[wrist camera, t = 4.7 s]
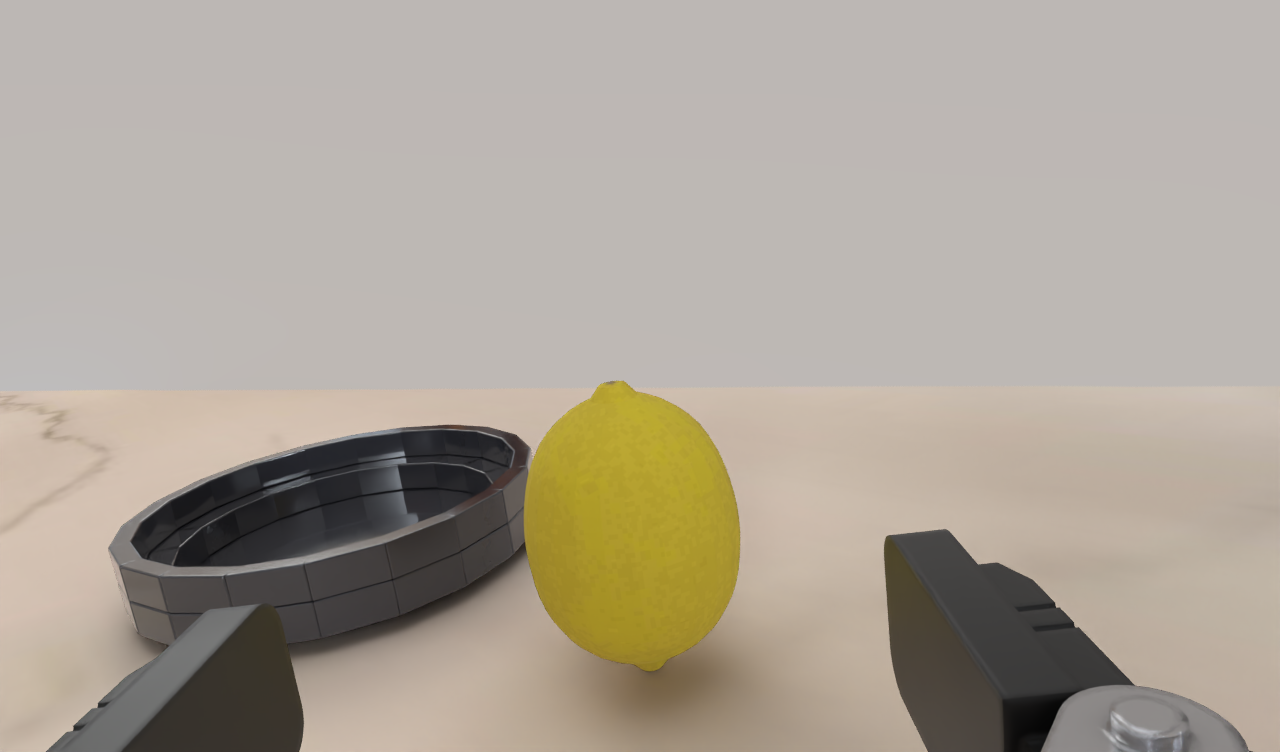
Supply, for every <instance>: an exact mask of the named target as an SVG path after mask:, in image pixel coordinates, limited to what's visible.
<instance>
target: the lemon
mask: <svg viewBox="0 0 1280 752" xmlns="http://www.w3.org/2000/svg"><path fill="white" fill-rule="evenodd" d="M524 536H525V545H526V551H527V556H528V561H529V565H530V569H531V572H532V576H533V579H534V583H535V586H536V589H537V591H538V594H539V597H540V599H541V601H542V603H543V605H544V607H545V609H546V611H547V612H548V614H549V615H550V617H551V618H552V620H553V621H554V622H555V623H556V624H557V626H558V627H559V628H560V629H561V630H562V631H563V632H564V633H565V634H566V635H567V636H568V637H569V638H570V639H571V640H572V641H573V642H574V643H576V644H577V645H578V646H580V647H581V648H583V649H585V650H587V651H589V652H590V653H592V654H594V655H596V656H598V657H600V658H603V659H607V660H611V661H615V662H619V663H624V664H633V665H635V666H637V667H638V668H640V669H642V670H644V671H655V670H658V669H659V668H661V667H662V666H663V665H664V664H665V663H666V661H667V660H668V659H669V658H672V657H674V656H677V655H679V654H681V653H682V652H684V651H686V650H688V649H689V648H691V647H693V646H694V645H696V644H697V643H698V642H699V641H700V640H701V639H703V638H704V637H705V636H706V635H707V634H708V633H709V632H710V631H711V630H712V629H713V628H714V626H715V625H716V624H717V622H718V621H719V619H720V618H721V616H722V614H723V612H724V611H725V609H726V607H727V605H728V603H729V601H730V599H731V597H732V594H733V591H734V588H735V585H736V580H737V575H738V569H739V557H740V525H739V515H738V509H737V503H736V499H735V495H734V491H733V488H732V485H731V481H730V478H729V476H728V473H727V470H726V468H725V465H724V463H723V461H722V458H721V456H720V454H719V452H718V450H717V448H716V447H715V445H714V443H713V442H712V440H711V438H710V437H709V435H708V434H707V433H706V431H705V430H704V429H703V428H702V426H701V425H700V424H699V423H698V422H697V421H696V420H695V419H694V418H693V417H691V416H690V415H689V414H688V413H687V412H685V411H684V410H682V409H681V408H679V407H678V406H676V405H674V404H672V403H670V402H668V401H666V400H664V399H662V398H659V397H656V396H653V395H649V394H645V393H640V392H636V391H635V390H633V389H632V388H631V387H630V386H629V385H628V384H627V383H626V382H624V381H611V382H606V383H603V384H600V385H599V386H598V387H597V389H596V391H595V392H594V394H593V395H592V397H591V398H590V399H588V400H586V401H584V402H582V403H580V404H579V405H577V406H576V407H574V408H572V409H571V410H569V411H568V412H567V413H566V414H565V415H564V416H563V417H562V418H560V419H559V420H558V421H557V422H556V423H555V424H554V425H553V427H552V428H551V429H550V430H549V431H548V432H547V434H546V435H545V437H544V438H543V440H542V442H541V443H540V445H539V447H538V449H537V452H536V454H535V456H534V459H533V461H532V463H531V466H530V470H529V474H528V478H527V484H526V491H525V501H524Z"/></svg>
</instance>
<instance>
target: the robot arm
mask: <svg viewBox="0 0 1280 752" xmlns="http://www.w3.org/2000/svg"><path fill="white" fill-rule="evenodd" d="M884 561H885V576H886V591H887V606H888V621H889V635H890V649H891V657H892V663H893V668H894V673H895V677H896V681H897V685H898V688H899V691H900V694H901V697H902V699H903V701H904V703H905V705H906V707H907V710H908V712H909V714H910V716H911V718H912V720H913V722H914V724H915V726H916V728H917V730H918V732H919V734H920V736H921V738H922V740H923V742H924V744H925V746H926V749H927V751H928V752H1251V751H1249V750H1248V747H1247V745H1246V742H1245V740H1244V739H1243V738H1242V736H1241V735H1240V733H1239V732H1238V731H1237V730H1236V729H1235V728H1234V727H1233V726H1232V725H1231V724H1230V723H1229V722H1228V721H1226V720H1225V719H1224V718H1223V717H1221V716H1220V715H1219V714H1217V713H1215V712H1214V711H1212V710H1210V709H1209V708H1207V707H1205V706H1203V705H1201V704H1199V703H1197V702H1195V701H1192V700H1190V699H1187V698H1185V697H1182V696H1179V695H1176V694H1173V693H1169V692H1166V691H1162V690H1158V689H1153V688H1148V687H1140V686H1135V685H1134V684H1133V683H1132V682H1131V681H1130V680H1129V679H1128V678H1127V677H1126V676H1125V675H1124V674H1123V673H1122V672H1121V671H1120V670H1119V669H1118V668H1117V666H1116V665H1115V664H1114V663H1113V662H1112V661H1111V660H1110V659H1109V658H1108V657H1107V656H1106V655H1105V654H1104V653H1103V652H1102V651H1101V650H1100V649H1099V648H1098V647H1097V646H1096V645H1095V644H1094V643H1093V642H1092V641H1091V640H1090V639H1089V638H1088V636H1087V635H1086V634H1085V633H1084V632H1083V631H1082V630H1081V629H1080V628H1079V627H1078V628H1075V626H1074V622H1073V621H1072V620H1071V619H1070V618H1069V617H1068V616H1067V615H1066V614H1065V613H1064V612H1063V611H1062V610H1061V609H1060V608H1056V606H1055V602H1054V601H1053V600H1052V599H1051V598H1050V597H1049V596H1048V595H1047V594H1046V593H1045V592H1044V591H1043V590H1042V589H1041V588H1040V587H1039V586H1038V585H1037V584H1036V583H1035V582H1034V581H1033V580H1032V579H1030V578H1028V577H1026V576H1024V575H1022V574H1020V573H1018V572H1016V571H1013V570H1011V569H1009V568H1007V567H1005V566H1003V565H1001V564H999V563H989V564H979V565H978V564H977V563H976V562H975V561H974V559H973V558H972V557H971V556H970V555H969V554H968V552H967V551H966V550H965V549H964V548H963V547H962V546H961V544H960V543H959V542H958V541H957V540H956V539H955V537H954V536H953V535H952V534H951V533H950V532H949V531H948V530H946V529H943V530H934V531H925V532H916V533H907V534H898V535H889V536H887V537H886V539H885V544H884ZM73 727H74V729H73V731H71V732H66V733H65V734H64V735H63V736H62V737H61V738H60V739H59V740H58V741H57V742H56V743H55V744H54V745H53V746H51V747H50V748H49V749H48V750H47V751H46V752H299V750H300V747H301V742H302V737H303V727H304V718H303V709H302V704H301V700H300V696H299V692H298V688H297V683H296V679H295V675H294V671H293V667H292V663H291V659H290V655H289V650H288V646H287V642H286V638H285V634H284V630H283V626H282V622H281V619H280V616H279V614H278V612H277V611H276V609H275V608H274V607H273V606H272V605H270V604H267V603H264V604H255V605H246V606H237V607H228V608H219V609H210V610H208V611H206V612H205V613H203V614H202V615H201V616H200V617H199V618H198V619H197V620H196V621H195V622H194V623H193V624H192V625H191V626H190V627H188V628H187V629H186V630H185V631H184V632H183V633H182V634H181V635H180V636H179V637H178V638H177V639H176V640H175V641H174V642H173V643H172V644H171V645H170V646H168V647H167V648H166V649H165V650H164V651H163V652H162V653H161V654H160V655H159V656H158V657H157V658H156V659H154V660H153V661H151V662H149V663H148V664H146V665H144V666H143V667H141V668H139V669H138V670H136V671H135V672H133V673H131V674H130V675H128V676H127V677H125V678H124V679H123V680H122V681H121V682H120V683H119V684H118V685H117V686H116V687H115V688H114V689H113V690H112V691H110V692H109V693H108V694H107V695H106V696H105V697H104V698H103V699H102V700H101V701H100V702H99V703H98V708H94V709H91V710H90V711H89V712H88V713H87V714H86V715H85V716H84V717H83V718H81V719H80V720H79V721H78V722H77V723H76V724H75V725H74V726H73Z"/></svg>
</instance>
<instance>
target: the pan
mask: <svg viewBox="0 0 1280 752" xmlns="http://www.w3.org/2000/svg"><path fill="white" fill-rule="evenodd" d="M532 461H533V458H532V452H531V448H530V447H529V446H528V445H527V444H526V443H525V442H524V441H522V440H521V439H520V438H519V437H518V436H517V435H515V434H512V433H508V432H504V431H501V430H497V429H493V428H490V427H480V426H463V425H438V426H421V427H406V428H405V427H404V428H397V429H390V430H383V431H376V432H369V433H362V434H356V435H351V436H346V437H342V438H337V439H332V440H328V441H323V442H318V443H314V444H309V445H304V446H302V447H297V448H294V449H290V450H287V451H283V452H280V453H277V454H273V455H270V456H266V457H263V458H259V459H256V460H252V461H250V462H246V463H243V464H241V465H238V466H235V467H233V468H230V469H227V470H225V471H222V472H219V473H217V474H214V475H211V476H209V477H206V478H203V479H201V480H199V481H196V482H194V483H192V484H190V485H188V486H186V487H184V488H182V489H180V490H178V491H176V492H174V493H172V494H170V495H168V496H166V497H164V498H162V499H160V500H158V501H156V502H154V503H152V504H151V505H150V506H148V507H147V508H146V509H144V510H143V511H141V512H140V513H139V514H137V515H136V516H135V517H133V518H132V519H130V520H129V521H128V522H126V523H125V524H124V525H123V526H121V528H120V529H119V531H118V533H117V534H116V536H115V538H114V539H113V541H112V543H111V544H110V546H109V548H108V551H109V555H110V558H111V561H112V565H113V568H114V572H115V575H116V579H117V581H118V585H119V589H120V592H121V596H122V599H123V603H124V606H125V609H126V613H127V615H128V616H129V618H130V620H131V622H132V624H133V625H134V627H135V629H136V631H137V633H138V634H139V635H141V636H143V637H146V638H149V639H152V640H154V641H157V642H160V643H163V644H166V645H169V646H170V645H171V644H172V643H173V642H174V641H175V640H176V639H177V638H178V637H179V636H180V635H181V634H182V633H183V632H184V631H185V630H186V629H187V628H188V627H190V626H191V625H192V624H193V623H194V622H195V621H196V620H197V619H198V618H199V617H200V616H201V615H202V614H203V613H205V612H206V611H208V610H210V609H219V608H228V607H237V606H246V605H255V604H264V603H267V604H270V605H272V606H273V607H274V608H275V609H276V611H277V612H278V614H279V616H280V619H281V622H282V626H283V630H284V634H285V638H286V642H287V644H290V643H297V642H304V641H310V640H317V639H321V638H326V637H329V636H333V635H336V634H339V633H343V632H347V631H351V630H355V629H358V628H361V627H365V626H368V625H372V624H375V623H378V622H381V621H384V620H387V619H391V618H394V617H398V616H400V615H403V614H405V613H408V612H410V611H412V610H414V609H417V608H419V607H421V606H423V605H426V604H428V603H430V602H433V601H435V600H437V599H439V598H442V597H444V596H446V595H448V594H451V593H453V592H455V591H457V590H460V589H462V588H464V587H466V586H467V585H469V584H471V583H472V582H474V581H475V580H477V579H478V578H480V577H481V576H483V575H484V574H486V573H487V572H489V571H490V570H492V569H493V568H495V567H496V566H498V565H499V564H501V563H502V562H504V561H505V560H507V559H508V558H510V557H511V556H512V555H513V554H515V552H516V551H517V550H518V549H519V548H520V547H521V545H522V544H523V543H524V542H525V536H524V501H525V491H526V484H527V478H528V474H529V470H530V466H531V463H532Z"/></svg>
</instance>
